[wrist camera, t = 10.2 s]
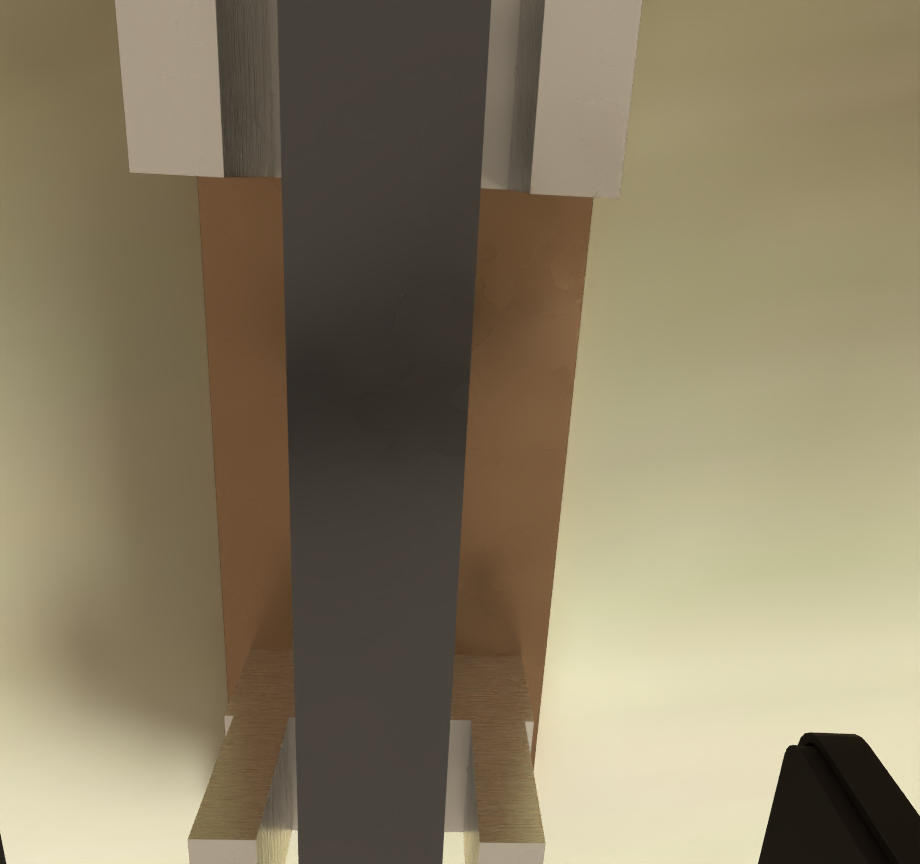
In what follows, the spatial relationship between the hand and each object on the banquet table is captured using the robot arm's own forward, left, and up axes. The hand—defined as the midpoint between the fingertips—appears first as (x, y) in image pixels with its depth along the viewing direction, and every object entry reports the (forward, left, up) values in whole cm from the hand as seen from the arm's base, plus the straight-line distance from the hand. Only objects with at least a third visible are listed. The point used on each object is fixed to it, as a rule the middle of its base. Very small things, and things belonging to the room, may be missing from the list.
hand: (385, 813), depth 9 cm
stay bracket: (+1, 0, -14) cm, 14 cm away
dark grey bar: (0, 0, -10) cm, 10 cm away
